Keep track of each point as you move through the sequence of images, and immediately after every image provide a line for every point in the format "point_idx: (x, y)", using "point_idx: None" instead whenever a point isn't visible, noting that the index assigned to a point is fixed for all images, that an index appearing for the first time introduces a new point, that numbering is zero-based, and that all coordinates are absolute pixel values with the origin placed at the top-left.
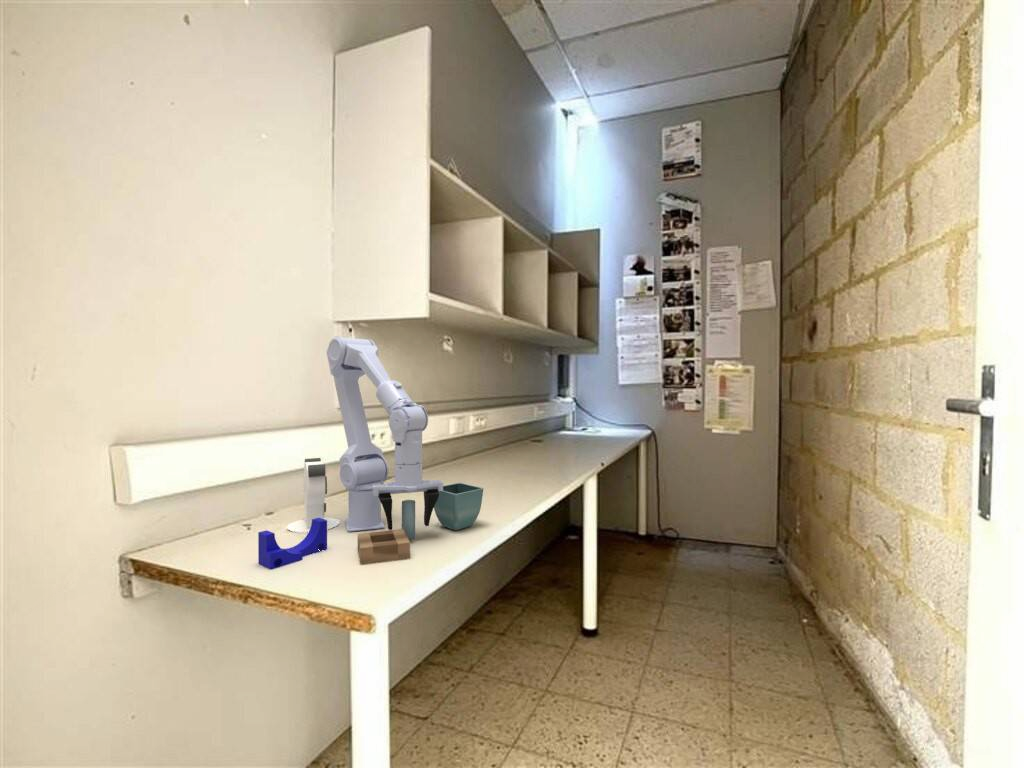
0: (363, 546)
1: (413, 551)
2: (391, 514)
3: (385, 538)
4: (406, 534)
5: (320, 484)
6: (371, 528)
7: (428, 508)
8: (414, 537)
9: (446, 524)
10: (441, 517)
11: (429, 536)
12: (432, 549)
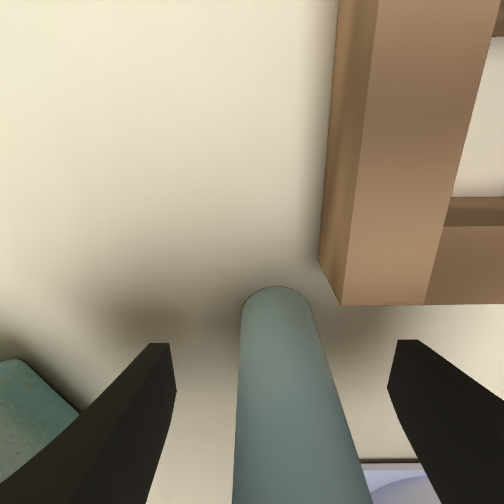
0: None
1: (289, 96)
2: (498, 430)
3: (481, 216)
4: (298, 310)
5: None
6: (407, 466)
7: (81, 462)
8: (247, 305)
9: (60, 412)
10: None
11: (164, 322)
12: (162, 91)
